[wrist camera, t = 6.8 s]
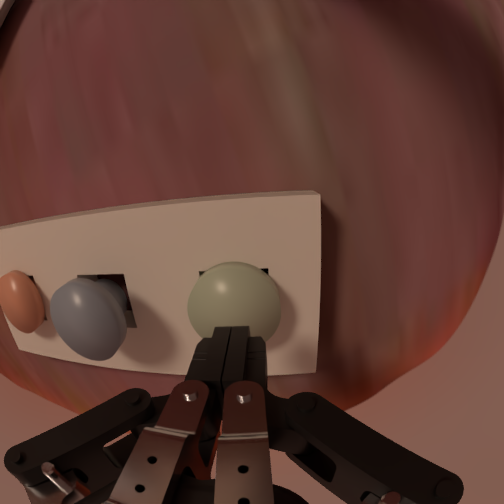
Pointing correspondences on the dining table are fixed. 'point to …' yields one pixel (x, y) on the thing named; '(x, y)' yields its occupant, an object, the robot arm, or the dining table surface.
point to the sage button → (234, 300)
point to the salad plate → (4, 9)
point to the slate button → (90, 317)
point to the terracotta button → (21, 301)
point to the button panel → (176, 271)
